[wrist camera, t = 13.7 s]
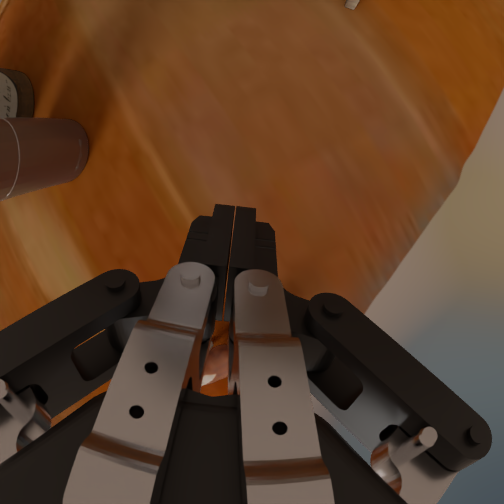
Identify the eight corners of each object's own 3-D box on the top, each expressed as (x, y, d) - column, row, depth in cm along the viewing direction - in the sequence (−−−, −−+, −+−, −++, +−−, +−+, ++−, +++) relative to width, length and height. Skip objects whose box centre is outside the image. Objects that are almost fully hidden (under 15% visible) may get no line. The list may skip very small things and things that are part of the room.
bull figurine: (176, 346, 46) (161, 380, 38) (254, 315, 43) (250, 350, 36) (191, 367, 47) (179, 402, 39) (268, 338, 44) (267, 375, 37)
